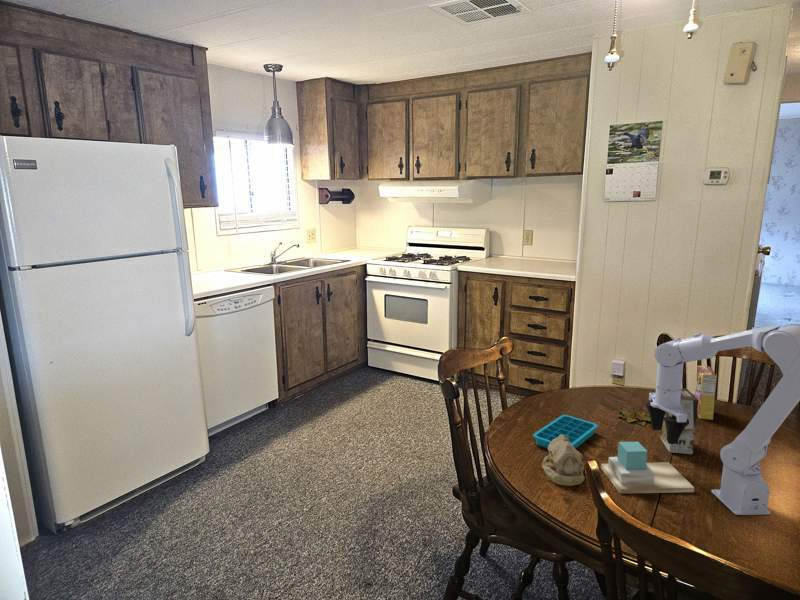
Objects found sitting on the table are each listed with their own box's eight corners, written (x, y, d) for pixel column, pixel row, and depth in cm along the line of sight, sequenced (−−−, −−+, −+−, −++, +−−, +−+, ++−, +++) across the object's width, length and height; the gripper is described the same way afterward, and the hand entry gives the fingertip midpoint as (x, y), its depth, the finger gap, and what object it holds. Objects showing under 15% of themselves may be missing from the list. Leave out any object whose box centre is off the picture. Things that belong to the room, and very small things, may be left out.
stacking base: (693, 492, 123) (695, 476, 122) (620, 493, 123) (621, 477, 122) (668, 466, 135) (669, 452, 134) (600, 467, 135) (601, 453, 134)
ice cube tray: (598, 433, 154) (599, 424, 154) (567, 458, 140) (568, 448, 140) (563, 422, 162) (563, 414, 162) (530, 445, 148) (531, 435, 148)
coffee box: (693, 454, 140) (699, 400, 137) (668, 452, 142) (673, 399, 138) (682, 439, 149) (687, 388, 146) (659, 437, 150) (663, 386, 147)
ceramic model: (538, 457, 141) (539, 424, 139) (579, 458, 140) (580, 425, 138) (548, 486, 127) (550, 449, 125) (594, 487, 126) (596, 450, 124)
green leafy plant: (609, 419, 165) (610, 405, 164) (625, 408, 173) (626, 395, 172) (646, 431, 156) (647, 417, 155) (662, 419, 164) (663, 406, 163)
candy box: (692, 407, 171) (696, 365, 168) (707, 409, 169) (711, 366, 166) (697, 418, 162) (702, 373, 159) (713, 420, 161) (718, 375, 158)
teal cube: (645, 469, 125) (647, 451, 124) (625, 470, 125) (627, 451, 124) (636, 459, 130) (638, 441, 129) (617, 459, 130) (618, 442, 129)
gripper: (639, 377, 136) (635, 424, 139) (668, 398, 122) (663, 450, 124) (665, 376, 136) (661, 423, 139) (697, 397, 122) (692, 449, 124)
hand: (664, 436), depth 132 cm, fingers open, 7 cm apart
